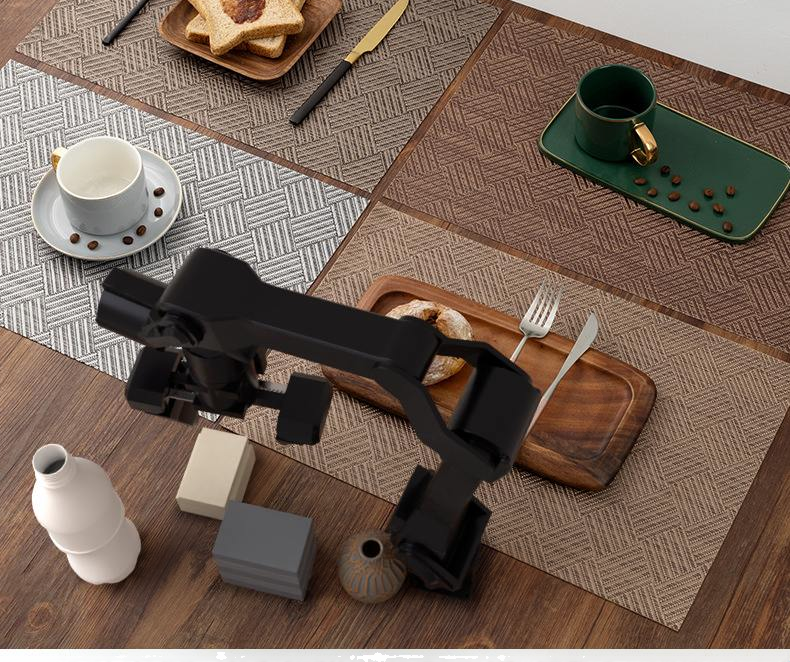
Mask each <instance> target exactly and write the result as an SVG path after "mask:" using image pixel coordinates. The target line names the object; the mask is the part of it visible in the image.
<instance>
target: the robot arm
mask: <svg viewBox="0 0 790 662" xmlns="http://www.w3.org/2000/svg"><path fill="white" fill-rule="evenodd" d="M101 287H102V289H103V291H102V292H101V295H100V298H99V299H98V300H99V301H98V304H97V309H96V316H95V318H94V320H95V323H96V325H97V326H98V327H99V328H102V329H105V330H107V331H109V332H112V333H113V334H116V335H118V336H121V337H123V338H126V339H128V340H130V341H133V342H135V343H137V344H139V345H142V346H143V347H142V348H140V349H139V351H138V353H137V356H136V358H135V360H134V363H133V365H132V368H131V370H130V373H129V376H128V378H127V380H126V383H125V386H124V398H125V400H126V402H127V404H128V406H129V407H130V409H131V410H134V411H140V412H143V413H144V414H146V415H151V416H154V417H158V418H161V419H165V420H168V421H172V422H176V423H178V424H183V425H185V426H189V427H191V428H197V426H198V424H199V422H200V412H202V413H207V414H212V415H217V416H223V417H227V418H232V419H237V420H241V421H244V420H245V417H246V415H247V411H248V409H250V408H251V407H252V406H256V407H261V408H266V409H272V410H276V411H279V412H278V415H277V419H276V426H275V433H276V436H275V438H274V439H275V441H276V442H277V443H278V444H279V445H281V446H284V447H286V446H289V445H295V446H296V445H297V446H311V447H314V446H315V445H317V444H319V443H321V440H322V438H323V433H324V430H325V426H326V423H327V419H328V415H329V412H330V408H331V405H332V401H333V399H334V395H335V392H334V385H333V384H332V382H331V380H330V378H329V377H325V376H321V375H316V374H315V375H314V374H311V373H310V374H309V373H305V372H300V371H295V370H294V371H293V372H292V373H291V374H290V376H289V379H288V382H287V384H285V383H281V382H280V383H279V382H274V381H270V380H265V379H259V376H260V375H262V376H264V375H265V373H266V370H267V367H268V359H267V355H266V354H267V351H268V350H271V351H275V352H278V353H282V354H285V355H287V356H291V357H295V358H298V359H301V360H305V361H308V362H312V363H314V364H319V365H320V366H321V365H322V366H325V367H328V368H331V369H334V370H338V371H342V372H345V373H348V374H351V375H355V376H358V377H362V378H364V379H368V380H372V381H374V382H375V383H376V384H377V385H378V386H379V387H380V388H382V389H383V390H384V391H386V392H387V393H389V394H390V395H391V396H392V397H394V398H396V399H397V400H398V402H399V403H400V405H401V407H402V410H403V412H404V413H405V415H406V417H407V419H408V421H409V423H410V425H411V427H412V429H413V432H414V433H415V435H416V437H417V439H418V440H419V441H420V443H423V445H425V446H426V447H427V448H429V449H430V450H431V451H433V452H434V453H436V454H437V455H438V456H439V459H440V461H439V464H438V466H437V467H436V468H435V469H433V468H429V469H428V468H427V467H425V466H423V465H421V464H420V463H417V464H416V466H415V468H414V470H413V472H412V473H411V475H410V478H409V479H408V481H407V483H406V485H405V487H404V490H403V492H402V493H401V496H400V498H399V499H398V502H397V504H396V505H395V508H394V509H393V512H392V514H391V516H390V518H389V521H388V522H387V524H386V527H385V529H384V530H383V531H384V532H385V533H388V534H390V541H391V543H392V545H393V546H398V547H397V550H396V552H397V554H398V556H399V557H400V559H401V560H402V561H403V563H404V564H405V566H406V567H407V570H408V573H410V577H409V580H408V586H409V588H410V589H413V590H415V591H420V592H425V593H430V594H433V595H438V596H441V597H445V598H446V597H447V598H450V599H454V600H457V601H463V602H470V601H471V600H472V597H473V592H474V586H475V581H476V576H477V571H478V567H479V562H480V556H481V552H482V546H483V542H482V538H483V535H484V533H485V531H486V529H487V526H488V524H489V521H490V520H491V517H492V514H493V511H492V510H491V509H490V508H489V507H487V505H485V504H484V503H483V502H482V501H481V500H480V499H479V498H477V497H476V496H475V495H474V494H475V493H476V491H477V490H478V489H479V487H480V485H481V483H483V482H485V483H487V484H489V485H491V484H492V485H493V484H495V483H496V482H498V481H500V480H501V479H502V478H505V477H506V476H507V475H509V474H510V473H511V470H512V468H513V466H514V463H515V461H516V459H517V457H518V454H519V452H520V450H521V447H522V445H523V443H524V440H525V439H526V436H527V433H528V431H529V429H530V426H531V424H532V422H533V419H534V417H535V415H536V413H537V411H538V409H539V406H540V403H541V401H542V398H543V395H542V392H541V391H542V390H541V389H540V388H539V387H535V386H534V385H533V380H532V378H531V376H530V375H529V374H528V372H527V371H525V370H524V369H523V368H521V367H520V366H519V365H518V364H517V363H515V362H514V361H512V360H511V359H510V358H508V357H507V355H505V354H504V353H502V352H501V351H499V350H498V349H497V348H496V347H494V346H493V345H492V344H490V343H489V342H486V341H482V340H481V341H480V340H472V339H464V338H455V337H449V336H447V335H446V334H445V333H443V332H442V331H441V330H439V329H438V328H437V327H436V326H434V325H433V324H432V323H430V322H428V321H427V320H425V319H423V318H420V317H418V316H415V315H409V314H406V315H401V316H400V317H399V318H395V317H392V316H388V315H385V314H381V313H377V312H373V311H369V310H366V309H363V308H359V307H356V306H355V307H354V306H351V305H347V304H344V303H340V302H336V301H333V300H329V299H326V298H322V297H318V296H316V295H315V296H314V295H310V294H307V293H303V292H299V291H296V290H293V289H289V288H285V287H281V286H279V285H278V286H277V285H275V284H273V283H269V282H267V281H264V280H262V278H261V277H260V275H258V273H257V272H256V271H255V269H254V268H253V267H252V266H251V264H250V263H249V262H248V261H246V260H243V259H241V258H238V257H236V256H234V255H233V254H231V253H230V252H227V251H225V250H224V249H220V248H216V247H215V248H214V247H212V248H209V247H196V248H194V250H193V251H191V252H190V253H189V254H188V255H187V257H186V258H185V259H184V261H183V262H182V264H181V266H180V267H179V268H178V269H177V271H176V273H175V274H174V275H173V277H172V278H171V279H170V281H169V282H168V283H167V282H164V281H161V280H159V279H157V278H154V277H151V276H149V275H147V274H145V273H142V272H139V271H137V270H135V269H132V268H130V267H123V268H119V267H116V266H112V267H111V269H110V271H108V273H107V275H106V276H105V277H104V279H103V280H102V282H101ZM436 356H437V357H447V358H458V359H462V360H463V361H465V362H466V363H467V364H469V366H471V367H472V368H473V369H472V371H471V373H470V375H469V377H468V379H467V382H466V384H465V386H464V388H463V390H462V392H461V393H460V394H461V395H460V396H459V398H458V401H457V403H456V405H455V406H454V409H453V411H452V413H451V415H450V418H449V419H448V421H447V423H446V422H445V420H444V418H443V416H442V415H441V412H440V410H439V408H438V406H437V404H436V403H435V401H434V400H435V399H433V396H432V395H431V392H430V391H429V389H428V388H427V386H426V385H425V384H424V383H423V382H424V380H425V379H426V376H427V374H428V372H429V370H430V368H431V366H432V364H433V362H434V360H435V358H436ZM413 582H414V583H415V584H412V583H413ZM465 595H468V597H466V596H465Z"/></svg>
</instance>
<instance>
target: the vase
mask: <svg viewBox="0 0 790 662" xmlns="http://www.w3.org/2000/svg"><path fill="white" fill-rule="evenodd" d="M384 531H385V530H380V529H376V528H368V529H363V530H361V531H358V532H356V533H355V534H353V535H351V536H350V537H349V539H347V540H346V542H344V544H343V545H342V547H341V549H340V552H339V555H338V559H337V574H338V578H339V581H340V583H341V585H342V587H343V589H344V590H345V592H347V594H348V595H349V596H351V597H352V598H353V599H354V600H357V601H359V602H361V603H366V604H380V603H383V602H386V601H387V600H390V599H391V598H393V596H395V595H396V594H397V593H398V592H399V591H400V590H401V588H402V586H403V584H404V582H405V579H406V575H407V570H408V569H407V567H406V566H405V564H404V563H403V561H402V560H401V559H400V557H399V556H398V554H397V552H396V550H397V547H398V546H393V545H392V543H391V541H390V535H391V534H388V533H385V532H384Z"/></svg>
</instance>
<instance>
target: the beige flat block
mask: <svg viewBox="0 0 790 662" xmlns="http://www.w3.org/2000/svg"><path fill="white" fill-rule="evenodd" d="M200 433H201V434H200V437H199V440H198V443H197V446H196V448H195V451H194V454H193V457H192V459H191V462H190V465H189V468H188V471H187V473H186V476H185V479H184V482H183V484H182V487H181V490H180V493H179V496H178V497H179V500H180V501H182V502H187V503H191V504H195V505H200V506H204V507H208V508H213V509H217V510H221V511H226V509H227V506H228V503H229V500H230V498H231V495H232V491H233V488H234V485H235V482H236V479H237V476H238V473H239V470H240V467H241V464H242V461H243V458H244V455H245V452H246V449H247V446H248V444H250V440H249V437H248V436H246V435H245V436H244V435H240V434H235V433H231V432H226V431H223V430H218V429H213V428H208V427H204V426H203V427H202V429H201V431H200Z"/></svg>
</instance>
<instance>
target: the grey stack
mask: <svg viewBox="0 0 790 662" xmlns="http://www.w3.org/2000/svg"><path fill="white" fill-rule="evenodd" d="M318 551H319V550H318V544H317V537H316V532H315V526H314V519H313V518H311V517H307V516H302V515H298V514H294V513H289V512H285V511H281V510H277V509H273V508H268V507H263V506H260V505H255V504H250V503H247V502H243V501H242V502H238V501H233V500H229V503H228V506H227V509H226V512H225V515H224V518H223V520H221V523H220V527H219V530H218V533H217V536H216V539H215V541H214V545H213V548H212V550H211V554H212V556H213V559H214V562H215V565H216V567H217V570H218V572H219V575H220V578H221V579H222V582H223V583H224V584H230V585H233V586H238V587H241V588H246V589H250V590H254V591H259V592H261V593H262V592H263V593H267V594H271V595H274V596H279V597H284V598H286V599H287V598H288V599H292V600H296V601H301V602H304V601H305V597H306V593H307V590H308V586H309V583H310V579H311V575H312V571H313V568H314V566H315V565H314V564H315V561H316V557H317V555H318Z"/></svg>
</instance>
